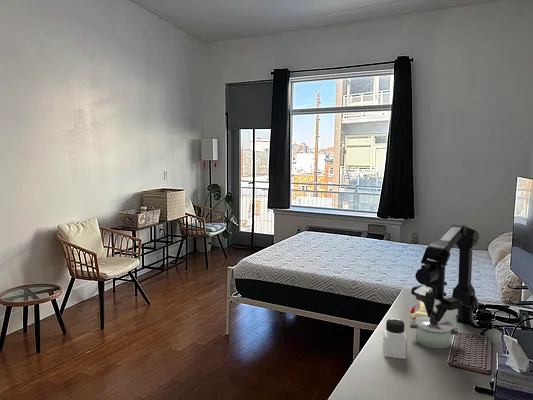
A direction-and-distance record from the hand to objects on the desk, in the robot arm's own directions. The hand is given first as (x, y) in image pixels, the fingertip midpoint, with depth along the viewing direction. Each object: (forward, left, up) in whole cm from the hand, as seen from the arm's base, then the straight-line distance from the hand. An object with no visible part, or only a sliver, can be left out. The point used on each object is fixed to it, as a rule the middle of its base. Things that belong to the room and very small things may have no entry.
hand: (434, 319), depth 148 cm
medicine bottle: (+15, -13, -9) cm, 22 cm away
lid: (0, 0, -2) cm, 2 cm away
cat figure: (-23, -3, -9) cm, 25 cm away
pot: (0, 0, -8) cm, 9 cm away
